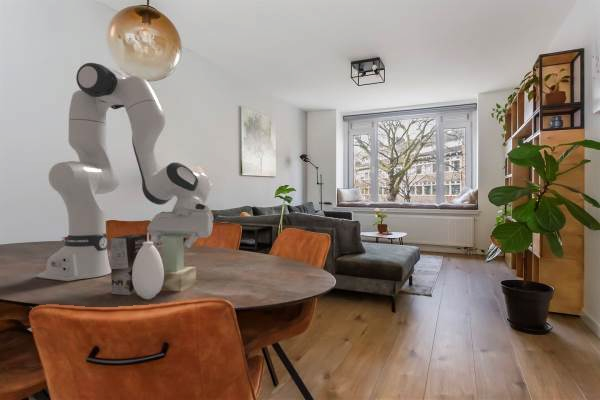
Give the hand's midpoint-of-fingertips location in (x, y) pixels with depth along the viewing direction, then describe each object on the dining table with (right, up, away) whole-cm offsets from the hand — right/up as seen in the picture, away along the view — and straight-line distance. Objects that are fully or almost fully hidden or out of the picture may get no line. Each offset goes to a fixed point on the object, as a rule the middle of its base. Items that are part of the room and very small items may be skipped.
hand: (172, 246), depth 106 cm
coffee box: (-11, -13, -4) cm, 17 cm away
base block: (0, -12, +1) cm, 12 cm away
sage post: (0, -7, +1) cm, 7 cm away
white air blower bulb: (-2, -13, -11) cm, 17 cm away
